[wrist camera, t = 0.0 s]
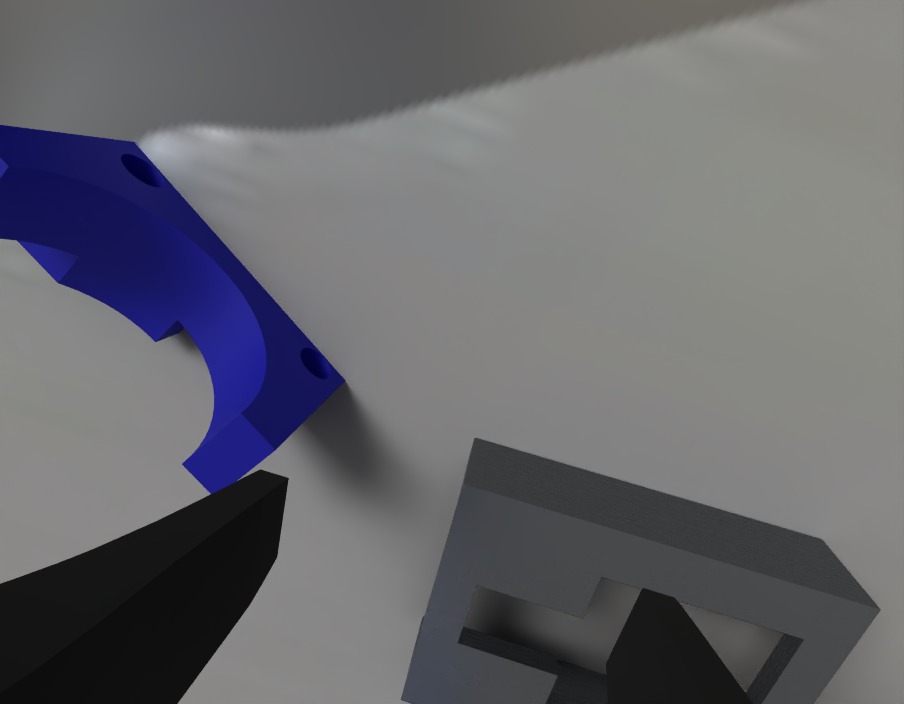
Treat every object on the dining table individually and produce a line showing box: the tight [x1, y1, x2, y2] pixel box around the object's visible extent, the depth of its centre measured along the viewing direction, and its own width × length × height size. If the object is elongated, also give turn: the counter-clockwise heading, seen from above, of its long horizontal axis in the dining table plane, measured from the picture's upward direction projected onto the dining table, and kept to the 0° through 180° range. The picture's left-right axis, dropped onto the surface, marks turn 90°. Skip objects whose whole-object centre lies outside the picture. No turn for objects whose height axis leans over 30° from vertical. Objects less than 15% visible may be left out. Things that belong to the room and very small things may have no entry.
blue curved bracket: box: [0, 125, 345, 494], centre depth 17 cm, size 12×4×6 cm, turn 40°
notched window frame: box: [401, 438, 881, 704], centre depth 20 cm, size 11×14×3 cm
